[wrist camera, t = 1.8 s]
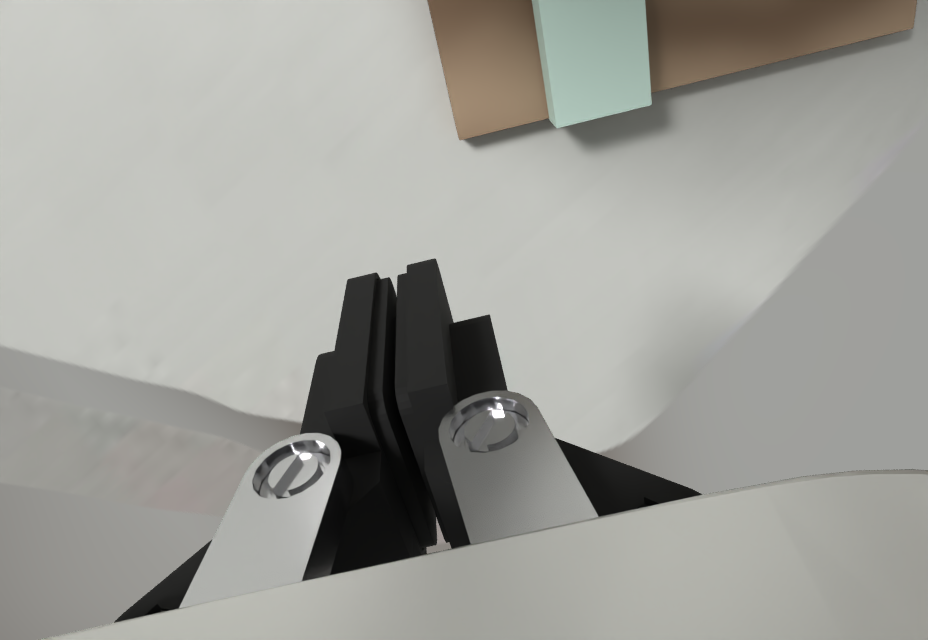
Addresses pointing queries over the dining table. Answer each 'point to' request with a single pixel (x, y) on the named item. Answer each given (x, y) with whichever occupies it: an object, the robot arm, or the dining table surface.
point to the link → (592, 57)
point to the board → (669, 46)
